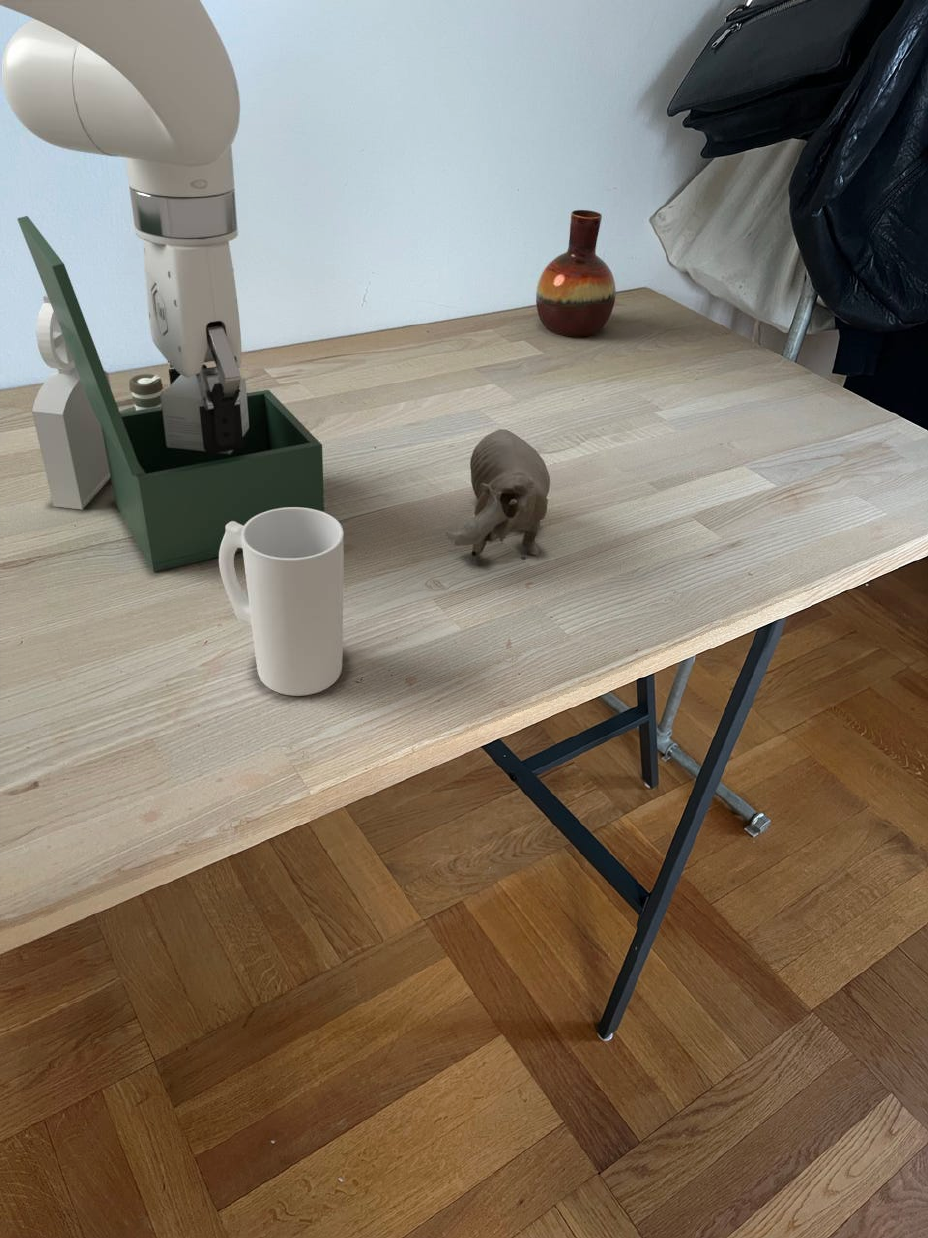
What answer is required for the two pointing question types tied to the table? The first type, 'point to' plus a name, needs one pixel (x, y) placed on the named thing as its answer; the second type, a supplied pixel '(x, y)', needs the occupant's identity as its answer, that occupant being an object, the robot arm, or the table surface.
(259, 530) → the mug
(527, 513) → the rhinoceros figurine
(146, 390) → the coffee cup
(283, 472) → the bin
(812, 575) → the table surface
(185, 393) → the small box
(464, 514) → the table surface
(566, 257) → the vase
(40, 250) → the bin lid
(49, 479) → the gravestone
